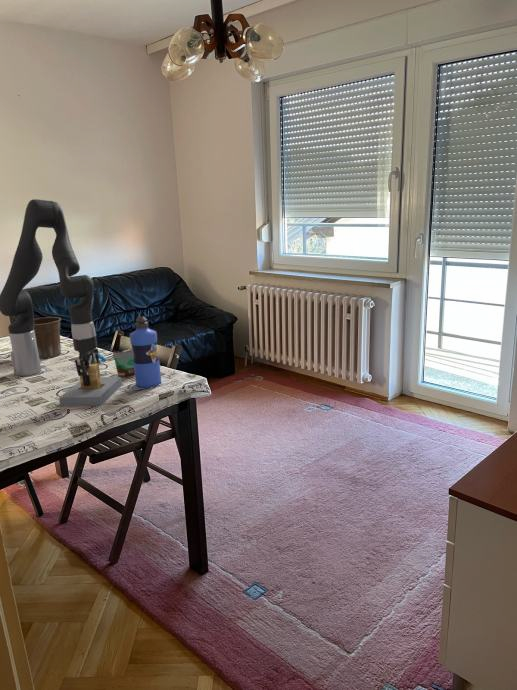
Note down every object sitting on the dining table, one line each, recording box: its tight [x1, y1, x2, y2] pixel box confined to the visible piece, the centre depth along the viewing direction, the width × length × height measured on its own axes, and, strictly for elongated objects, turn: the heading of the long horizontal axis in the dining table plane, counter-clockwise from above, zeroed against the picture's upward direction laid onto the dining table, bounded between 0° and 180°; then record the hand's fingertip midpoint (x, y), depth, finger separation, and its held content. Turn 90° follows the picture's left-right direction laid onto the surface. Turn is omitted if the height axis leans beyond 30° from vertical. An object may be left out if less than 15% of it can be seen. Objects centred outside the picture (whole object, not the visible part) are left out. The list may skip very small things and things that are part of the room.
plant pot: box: [34, 316, 62, 360], centre depth 234 cm, size 16×16×16 cm
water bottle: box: [129, 315, 162, 389], centre depth 186 cm, size 9×9×25 cm
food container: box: [112, 347, 135, 378], centre depth 201 cm, size 12×6×10 cm, turn 148°
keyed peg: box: [79, 362, 102, 389], centre depth 180 cm, size 3×6×11 cm, turn 84°
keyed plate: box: [58, 376, 123, 407], centre depth 181 cm, size 14×20×3 cm
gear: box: [98, 352, 107, 362], centre depth 221 cm, size 11×6×10 cm
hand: (90, 382), depth 180 cm, fingers open, 6 cm apart
